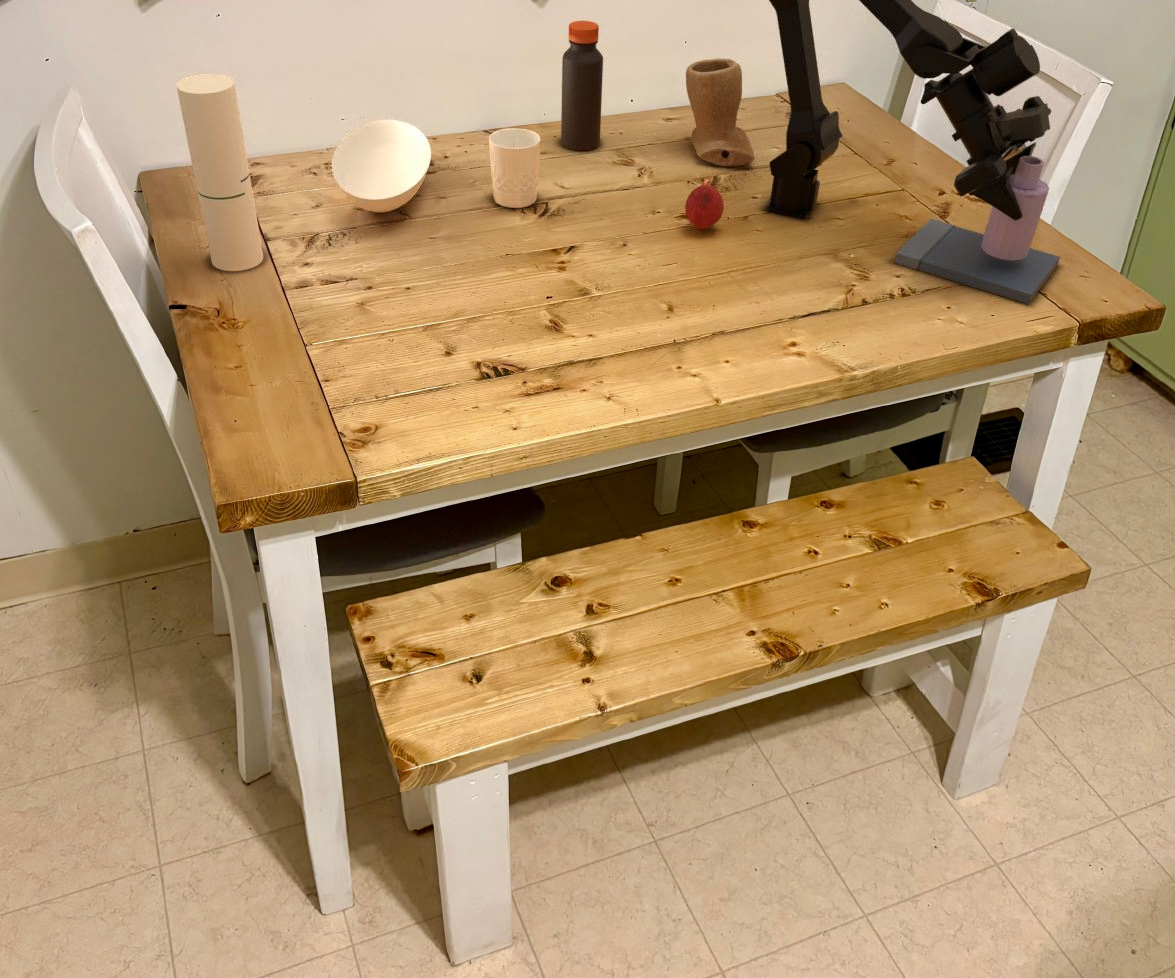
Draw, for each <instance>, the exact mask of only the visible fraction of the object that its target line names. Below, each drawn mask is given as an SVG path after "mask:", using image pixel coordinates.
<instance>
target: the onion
mask: <svg viewBox="0 0 1175 978" xmlns="http://www.w3.org/2000/svg"><path fill="white" fill-rule="evenodd" d="M712 182H713V181H712V180H711V179H709V178H707V179H704V181H703V182H702V184H701V185H699V186H697V187H695V188H694V189H693V190H692V191H691V192H690V193H689V195H688V196H687V199H686V201H685V205H684V213H685V215H686V217H687V220H688V221H689V222H690V224H691V225H692V226H693V227H695V228H697V229H698V230H700V231H705V230H706V229H709V228H711V227H712V226H714V225H715V224H716V223H718V222H719V221H720V220H721V218H722V216H723V213H724V208H725V207H724V206H725V205H724V204H725V203H724V199H723V197H722V194H721V193H720V191H719V190H718V189H717V188H716V187H715V186H713V185H712Z"/></svg>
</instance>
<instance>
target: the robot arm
mask: <svg viewBox="0 0 1175 978" xmlns="http://www.w3.org/2000/svg"><path fill="white" fill-rule="evenodd" d="M858 1H859V2H860V3H861V5H863V6H864V7H865V8H866V9H867V10H868V11H869V12H870V13H871V14H872V15H873V16H874V18H876V19H877V20H878V21H879V22H880V23H881V24H882V25H883V26H884V27H885V29H887V30H888V32H889V33H890V34H891V35H892V37H893V38H894V40H895V43H896V45H897V48H898V51H899V53H900V55H901V57H902V58H903V60H904V61H905V62H906V64H907V65H908V67H909V68H910V70H911V71H912V72H913V73H914V75H916V76H917V77H918V78H921V79H924V80H925V79H927V80H928V79H929V80H928V81H927V82H925V83H924V89H923V93H922V96H921V99H920V104H921V105H926V104H927V103H929V102H930V101H932V100H934V99H935V98H936V100H937V102H938V103H939V105H940V107H941V108H942V110H943V112H944V114H945V115H946V117H947V118H948V120H949V123H950V124H951V126H952V127H953V130H954V131H955V132H954V133H952V135H951V137H952V140H954V142H958V141H959V140H960V141H961V143H962V145H963V146H964V148H965V150H966V151H967V153H968V155H969V158H967V160H966V163H967V165H968V166H965V167H964V168H963V169H962V170H961V171H960V172H959V173H957V175H956V176H955V179H954V183H953V187H954V189H955V190H956V192H957V193H958V195H959V197H960V198H962V197H964V196H966V195H969V196H970V197H972V196H974V197H975V198H977V199H978V200H979V199H980V200H981V201H983V202H985V203H986V204H988V205H990V206H991V207H992V206H993V207H995V208H996V209H998V210H999V211H1001V212H1002V213H1004V214H1006V215H1007V216H1009V217H1010V218H1012V219H1013V220H1015V221H1016V220H1018V219H1020V218H1022V213H1021V210H1020V207H1019V204H1018V202H1017V200H1016V197H1015V195H1014V192H1013V190H1012V187H1011V185H1010V182H1009V180H1010V177H1011V175H1015V172H1016V169H1017V166H1018V162H1019V159H1020V158H1021V157H1023V156H1033V153H1034V150H1035V148H1036V147H1037V142H1034V141H1036V139H1040V138H1042V137H1043V136H1045V135H1046V132H1047V131H1049V130H1051V124H1050V117H1049V116H1050V115H1051V113H1052V109H1051V107H1049V106H1048V103H1047V102H1046V103H1045V102H1044V101H1043V100H1042V99H1041V98H1042V97H1040V96H1039V95H1036V96H1030V97H1028V98H1027V99H1026V100H1025V101H1024V102H1023V105H1022V108H1017V109H1015V110H1013V111H1009V112H1007V111H1006V109H1005V108H1004V106H1003V105H1000V104H996V105H994V104H993V102H992V101H991V99H990V97H989V96H991V95H994V96H995V97H1001V96H1003V95H1005V94H1007V93H1008V92H1010V91H1012V90H1013V89H1015V88H1017V87H1018V86H1020V85H1021V84H1023V83H1025V82H1026V81H1028V80H1030V79H1032V78H1034V77H1035V76H1037V75H1039V73H1040V71H1041V64H1040V63H1041V62H1040V59H1039V56H1038V53H1037V52H1036V51H1037V50H1035V47H1034V46H1033V45H1032V44H1030V43H1029V42H1028V41H1027V40H1026V39H1025V38H1024V37H1023V36H1021V35H1019V34H1018V32H1017V31H1016V29H1015V28H1014V27H1013V28H1011V29H1008V30H1007V31H1006V32H1004V33H1003V34H1002V35H1001V36H1000V37H998V38H997V39H996V40H995V41H993V42H992V43H990V44H988V45H987V46H985V45H984V44H980V43H979V42H976V41H973V40H971V39H968V38H966V37H963V35H962V34H961V32H960V31H959V30H958V29H957V28H955V27H954V26H953V25H951V24H950V23H948V22H947V21H945V20H944V19H942V18H941V17H940V16H938V15H936V14H934V13H930V12H928V11H927V10H924V9H923V8H921V7H919V6H918V5H917V4H916V3H915V2H914V1H913V0H858ZM768 2H769V3H770V4H771V6H772V7H773V9H774V12H775V15H776V19H777V20H776V21H777V26H778V33H779V40H780V46H781V53H782V59H783V65H784V66H783V67H784V72H785V78H786V79H785V80H786V86H787V92H788V100H789V106H790V114H789V119H788V122H787V123H788V124H787V128H786V133H785V135H786V136H785V150H784V151H783V152H782V153H780V154H778V155H777V156H776V157H775V158H773V159H771V160H770V161H769V162H768V164H769V169H770V174H771V176H773V179H772V185H771V191H770V199H769V203H768V204H767V205H766V207H765V210H766V211H768V212H773V213H776V214H781V215H786V216H790V217H796V218H799V219H806V218H807V217H808V215H809V214H810V212H812V211H813V210H814V209H815V207H816V206H817V203H818V196H819V192H820V191H819V190H820V185H821V181H820V180H818V175H819V169H818V168H819V167H820V166H822V165H823V163H824V162H825V161H827V160H829V159H830V158H831V157H833V156H834V154H835V153H836V151H837V150H838V149H839V145H840V139H841V138H843V133H842V132H841V128H840V121H839V120H840V115H839V111H838V110H835V111H829V110H828V108H827V107H826V105H825V104H824V101H823V96H822V89H821V82H820V75H819V74H820V73H819V68H818V60H817V53H816V45H815V38H814V31H813V23H812V17H811V8H810V0H768ZM970 66H971V67H972V68H971V69H969V70H967V71H966V72H964V73H961V72H962V71H964V70H965V69H966V68H968V67H970ZM942 74H947V75H945V76H944V77H942V78H941V79H939V80H935V78H938V77H940V76H942ZM1027 142H1030V143H1031V144H1029V145H1027V144H1026V143H1027Z"/></svg>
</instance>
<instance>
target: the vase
mask: <svg viewBox="0 0 1175 978" xmlns="http://www.w3.org/2000/svg"><path fill="white" fill-rule="evenodd" d="M1044 165H1045V161H1044V160H1043V159H1041V158H1039V157H1037V156H1033V155H1032V156H1023V157H1021V158H1020V159H1019V162H1018V166H1017V169H1016V172H1015V175H1011V177H1010V180H1009V182H1010V185H1011V187H1012V190H1013V192H1014V195H1015V197H1016V200H1017V202H1018V204H1019V207H1020V210H1021V213H1022V218H1020V219H1018V220H1016V221H1015V220H1013V219H1012V218H1010V217H1009V216H1007V215H1006V214H1004V213H1002V212H1001V211H999V210H998V209H996V208H995V207H993V206H991V210H990V213H989V217H988V220H987V224H986V227H985V231H984V233H983V234H984V237H983V240H982V244H981V247H982V249H983V250H984V251H985V252H986V253H987V254H989V255H991V256H993V257H996V258H999V259H1004V260H1021V259H1024V258H1025V257H1027V255H1028V253H1029V250H1030V248H1031V246H1032V243H1033V240H1034V237H1035V234H1036V231H1037V228H1038V226H1039V222H1040V219H1041V216H1042V213H1043V209H1044V207H1045V203H1046V200H1047V197H1048V194H1049V191H1050V187H1049V185H1048V183H1046V182H1045V181H1043V180H1041V179H1040V177H1041V174H1042V171H1043V168H1044Z"/></svg>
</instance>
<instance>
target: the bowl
mask: <svg viewBox="0 0 1175 978" xmlns="http://www.w3.org/2000/svg"><path fill="white" fill-rule="evenodd" d="M431 159H432V149H431V145H430V142H429V140H428V138H427V137H426V135H425V134H424V133H423V132H422V131H421V129H419V128H417V126H415V125H413V124H410V123H408V122H405V121H403V120H402V121H401V120H396V119H380V120H374V121H371V122H368V123H364V124H363V125H360V126H358V127H356V128H355V129H353V130H352V131H350V132H349V133H348V134H347V135H345V136H344V138H343V139H341V141H340V142H339V143H338V145H337V147H336V148H335V150H334V152H333V156H332V160H331V161H332V162H331V171H332V176H333V178H334V180H335V183H336V184H337V185H338V187H339V189H340V191H341V192H342V193H343V194H344V196H345V197H346V198H347V199H348V200H349V201H350V202H351V203H352V204H354V205H355V206H356V207H358V208H360V209H362V210H365V211H369V212H373V213H388V212H392V211H394V210H397V209H399V208H400V207H402V206H404V205H405V204H407V203H408V202H409V201H410V200H411V199H412V198H413V197H414V196H415V195H417V192H418V191H419V190H420V188H421V186H422V184H423V182H424V180H425V178H426V176H427V173H428V170H429V168H430V165H431Z"/></svg>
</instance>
